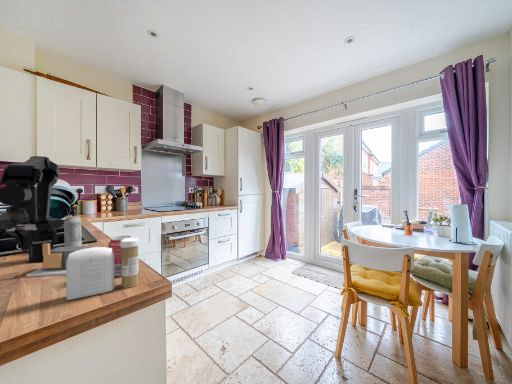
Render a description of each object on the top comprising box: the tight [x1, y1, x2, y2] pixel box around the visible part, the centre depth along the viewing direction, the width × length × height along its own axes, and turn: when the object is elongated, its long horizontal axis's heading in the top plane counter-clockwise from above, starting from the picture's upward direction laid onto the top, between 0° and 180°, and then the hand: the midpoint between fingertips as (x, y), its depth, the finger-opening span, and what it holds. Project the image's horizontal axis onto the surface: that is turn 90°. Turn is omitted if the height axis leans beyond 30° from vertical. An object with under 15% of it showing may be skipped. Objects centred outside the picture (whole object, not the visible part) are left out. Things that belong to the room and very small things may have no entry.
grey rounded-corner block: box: [65, 246, 115, 301], centre depth 57 cm, size 10×4×12 cm, turn 123°
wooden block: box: [42, 243, 62, 269], centre depth 71 cm, size 5×1×8 cm, turn 98°
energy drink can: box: [63, 215, 83, 247], centre depth 98 cm, size 6×6×15 cm
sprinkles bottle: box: [120, 237, 140, 289], centre depth 62 cm, size 5×5×14 cm
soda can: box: [107, 235, 132, 278], centre depth 71 cm, size 7×7×12 cm
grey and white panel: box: [26, 245, 92, 278], centre depth 76 cm, size 18×13×7 cm
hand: (25, 250), depth 70 cm, fingers closed
